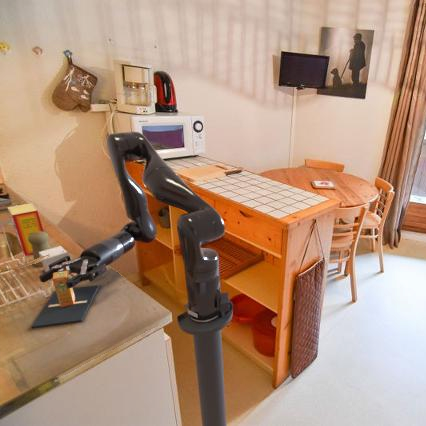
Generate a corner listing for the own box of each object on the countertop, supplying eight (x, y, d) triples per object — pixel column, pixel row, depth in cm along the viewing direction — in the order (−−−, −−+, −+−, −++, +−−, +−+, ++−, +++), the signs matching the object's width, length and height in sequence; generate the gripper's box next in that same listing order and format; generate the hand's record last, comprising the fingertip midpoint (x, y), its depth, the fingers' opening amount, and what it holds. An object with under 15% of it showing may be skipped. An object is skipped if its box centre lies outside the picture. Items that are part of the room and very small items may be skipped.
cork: (30, 267, 106) (20, 237, 102) (40, 257, 111) (31, 229, 107) (51, 265, 107) (43, 237, 103) (60, 256, 113) (52, 228, 108)
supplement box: (59, 308, 88) (50, 278, 85) (61, 301, 91) (53, 271, 87) (74, 305, 90) (66, 275, 86) (76, 298, 93) (68, 269, 89)
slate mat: (99, 286, 99) (98, 284, 99) (81, 321, 86) (81, 319, 85) (56, 291, 96) (56, 289, 96) (31, 328, 82) (30, 326, 82)
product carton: (65, 263, 109) (60, 245, 106) (73, 270, 106) (68, 251, 103) (43, 271, 104) (37, 251, 101) (50, 278, 101) (44, 258, 98)
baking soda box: (20, 246, 117) (6, 206, 111) (42, 240, 122) (31, 201, 115) (25, 255, 111) (11, 214, 105) (48, 249, 116) (37, 209, 110)
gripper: (81, 239, 100) (28, 266, 85) (121, 246, 97) (73, 275, 83) (86, 259, 103) (35, 289, 88) (125, 267, 100) (79, 298, 86)
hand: (54, 282), depth 85 cm, fingers open, 8 cm apart
